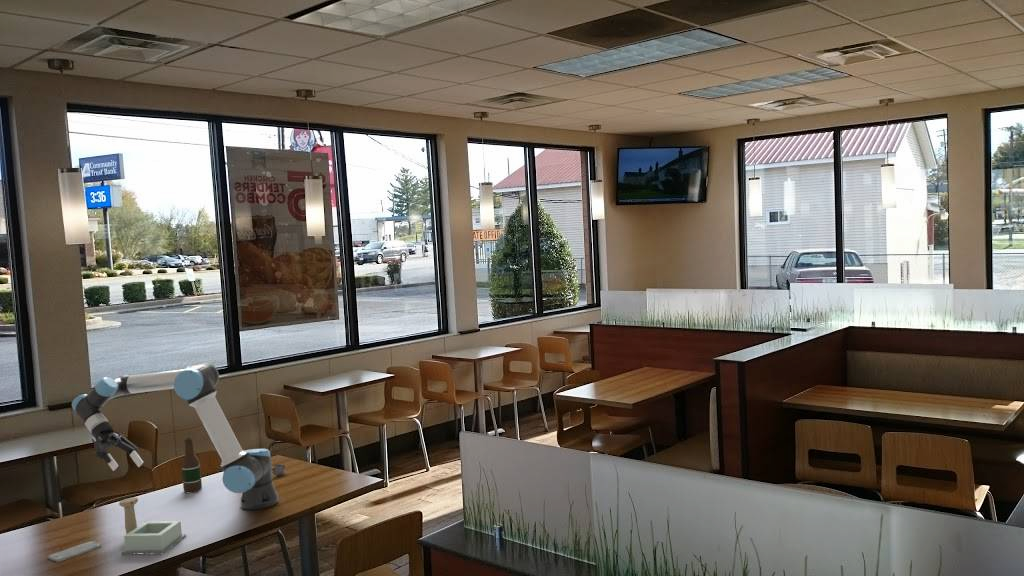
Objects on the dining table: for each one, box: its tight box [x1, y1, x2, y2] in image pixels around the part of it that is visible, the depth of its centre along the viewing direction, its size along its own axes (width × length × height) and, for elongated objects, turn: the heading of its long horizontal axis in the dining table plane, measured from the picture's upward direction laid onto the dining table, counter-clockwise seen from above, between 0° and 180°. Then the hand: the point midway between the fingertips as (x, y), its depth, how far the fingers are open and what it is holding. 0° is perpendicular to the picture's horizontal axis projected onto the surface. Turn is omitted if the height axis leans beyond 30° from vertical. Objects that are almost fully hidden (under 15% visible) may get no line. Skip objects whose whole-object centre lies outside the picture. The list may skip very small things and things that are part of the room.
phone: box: [47, 540, 103, 563], centre depth 295 cm, size 8×16×1 cm, turn 143°
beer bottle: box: [181, 436, 203, 493], centre depth 360 cm, size 8×8×24 cm
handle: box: [118, 496, 139, 535], centre depth 305 cm, size 5×6×15 cm
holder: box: [120, 520, 187, 555], centre depth 297 cm, size 16×16×6 cm
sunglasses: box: [271, 463, 286, 477], centre depth 379 cm, size 16×17×5 cm
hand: (128, 466), depth 317 cm, fingers open, 13 cm apart
